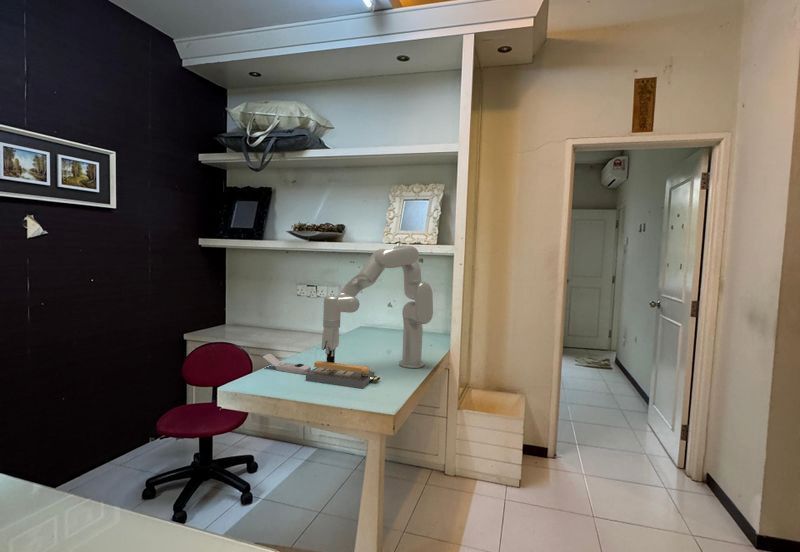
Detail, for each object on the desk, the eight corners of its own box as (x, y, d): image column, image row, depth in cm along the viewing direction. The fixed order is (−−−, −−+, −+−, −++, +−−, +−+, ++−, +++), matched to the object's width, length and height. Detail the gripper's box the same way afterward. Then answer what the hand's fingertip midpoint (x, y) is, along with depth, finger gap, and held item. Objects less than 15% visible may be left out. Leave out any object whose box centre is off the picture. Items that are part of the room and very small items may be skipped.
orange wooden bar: (317, 365, 178) (317, 360, 178) (370, 372, 172) (370, 366, 172) (313, 367, 175) (313, 362, 175) (367, 374, 168) (367, 369, 168)
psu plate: (320, 371, 184) (321, 362, 184) (374, 378, 177) (374, 369, 177) (305, 380, 171) (305, 371, 170) (362, 388, 163) (363, 379, 163)
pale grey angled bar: (269, 353, 190) (315, 359, 182) (269, 365, 191) (315, 372, 183) (261, 356, 185) (308, 363, 177) (261, 369, 185) (308, 376, 177)
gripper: (329, 320, 186) (328, 359, 187) (317, 326, 171) (315, 368, 173) (345, 321, 185) (343, 360, 186) (333, 327, 170) (332, 370, 171)
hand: (330, 364), depth 179 cm, fingers closed
